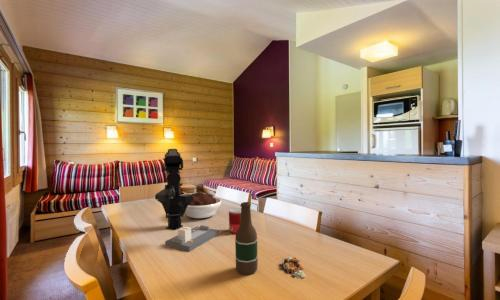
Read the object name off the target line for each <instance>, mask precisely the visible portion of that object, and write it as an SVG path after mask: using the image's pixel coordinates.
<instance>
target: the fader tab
mask: <svg viewBox="0 0 500 300" xmlns="http://www.w3.org/2000/svg"><path fill="white" fill-rule="evenodd" d="M191 229H192V227H188V226H183V227H180V228H178V229H177V233H178V238H182V239H184V242H186V241H188V240H190V239H191Z"/></svg>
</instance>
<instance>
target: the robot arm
mask: <svg viewBox="0 0 500 300" xmlns="http://www.w3.org/2000/svg"><path fill="white" fill-rule="evenodd" d="M163 159H164V161H163V163H164V164H163V165H164V172H165V171H167V172H166V184H165V185H164V189H162V190H159V192H157V193H155V195H154V198H155V200H156V201H157V202H159V203H160V204H161V205H162V208H163V210H164V213H165V218H166V219H167V226H166V227H165V228H166V229H168V230H174V231H175V230H178V229H180V228H181V227H184V226H183V224H182V217H184V215H185V214H186V212H185V211H186V208H187V206H188V204H189V203H190V202H191V201H193V195H192V194H193V193H185V194H183V192H182V191H181V187H182V186H183V184H182V183H181V173H180V171H182V170H183V168H184V159H183V157H181V153H180V152H179V151H178V149H177V148H168V149H167V152H166V153H164V158H163Z"/></svg>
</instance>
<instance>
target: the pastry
mask: <svg viewBox="0 0 500 300" xmlns="http://www.w3.org/2000/svg"><path fill="white" fill-rule="evenodd" d="M300 263H301V261H300V259H298V258H297V257H291V256H290V257H287V258H284V257H282V262H281V263H278V266H279V267H280V268H283V269H284V270H286V271H287V274H288V275H291V276H292V278H295V279H299V280H301V279H303V278H306V277H307V275H306V274H305V272H304V267H302V265H301V264H300Z"/></svg>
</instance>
